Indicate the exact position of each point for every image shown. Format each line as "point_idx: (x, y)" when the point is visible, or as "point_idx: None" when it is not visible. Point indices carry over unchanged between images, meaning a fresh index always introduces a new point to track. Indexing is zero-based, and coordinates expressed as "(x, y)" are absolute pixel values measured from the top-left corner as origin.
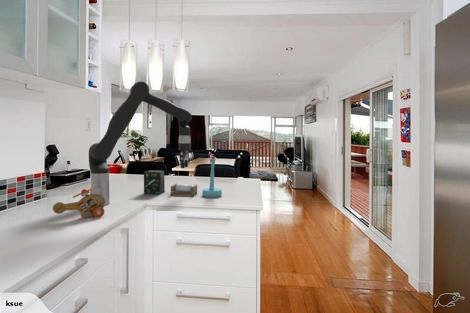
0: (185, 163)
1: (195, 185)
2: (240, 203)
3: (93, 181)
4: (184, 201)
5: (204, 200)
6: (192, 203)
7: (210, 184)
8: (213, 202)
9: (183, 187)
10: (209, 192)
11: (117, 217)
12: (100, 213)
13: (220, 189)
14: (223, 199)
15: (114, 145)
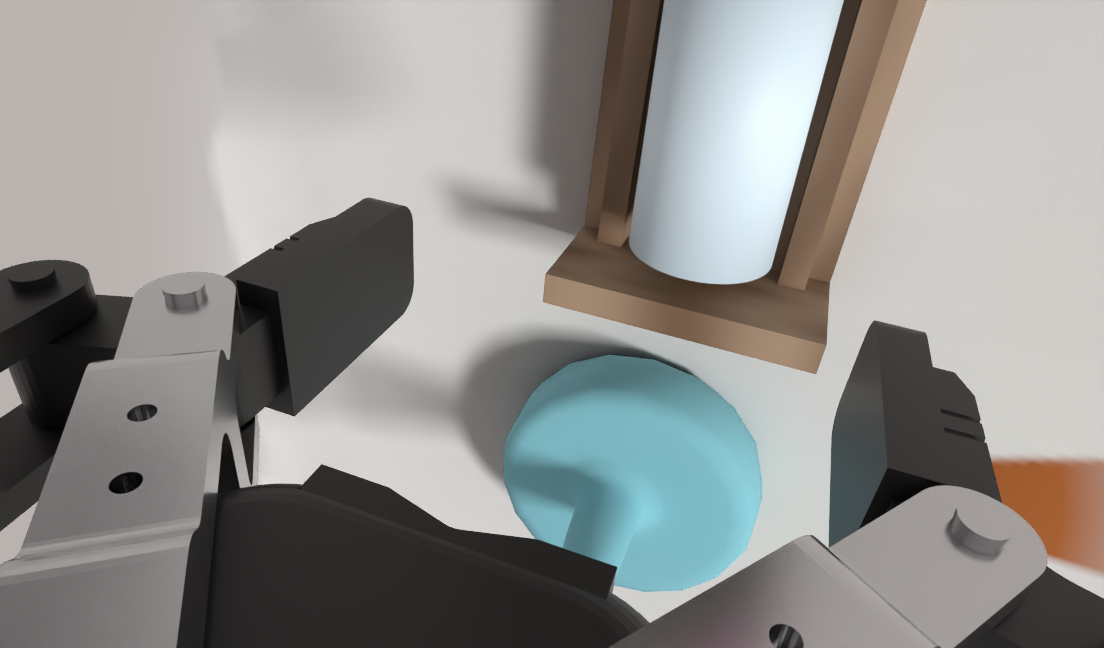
0: (864, 440)
1: (684, 334)
2: None
3: None
4: (295, 133)
5: (385, 344)
6: (239, 224)
7: (568, 536)
8: (326, 409)
9: (650, 111)
10: (505, 446)
11: None
12: None
13: (643, 587)
14: (457, 509)
15: None
